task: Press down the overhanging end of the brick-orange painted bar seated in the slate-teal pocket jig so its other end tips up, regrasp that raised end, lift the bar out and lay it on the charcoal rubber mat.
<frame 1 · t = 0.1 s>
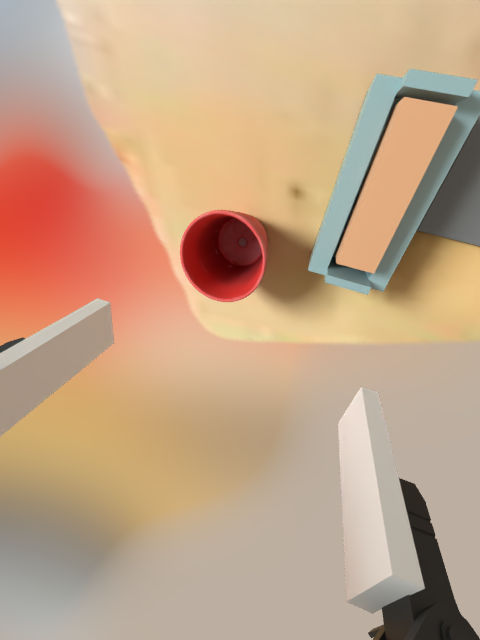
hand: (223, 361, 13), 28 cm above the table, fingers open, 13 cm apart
bar: (379, 194, 27), point 5 cm above the table, touching jig
jig: (371, 195, 31), on the table
flower pot: (243, 241, 39), on the table
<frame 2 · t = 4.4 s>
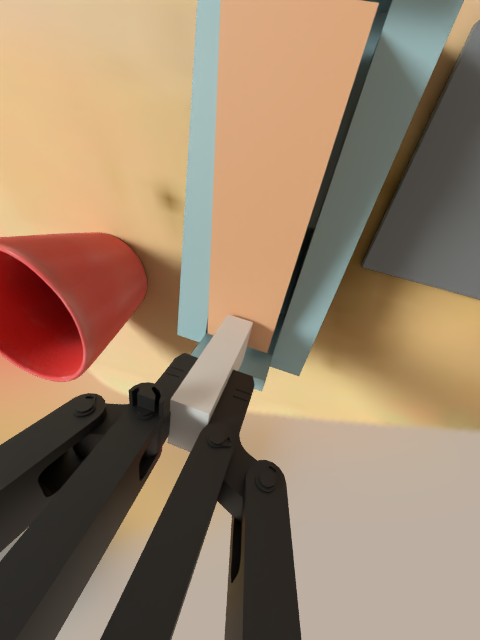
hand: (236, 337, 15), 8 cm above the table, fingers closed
bar: (273, 210, 14), point 5 cm above the table, tilted 13°, touching gripper, jig
jig: (283, 206, 18), on the table
flower pot: (115, 272, 26), on the table
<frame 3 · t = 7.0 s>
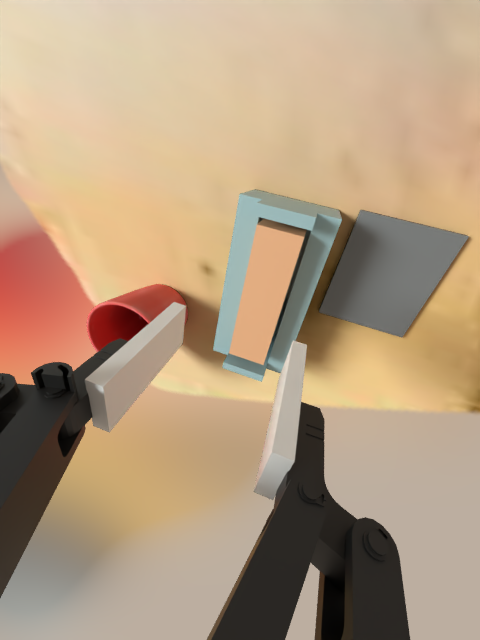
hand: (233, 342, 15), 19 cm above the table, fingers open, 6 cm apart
bar: (268, 288, 28), point 5 cm above the table, touching jig
mat: (382, 277, 29), on the table
jig: (274, 277, 32), on the table
flower pot: (166, 307, 39), on the table
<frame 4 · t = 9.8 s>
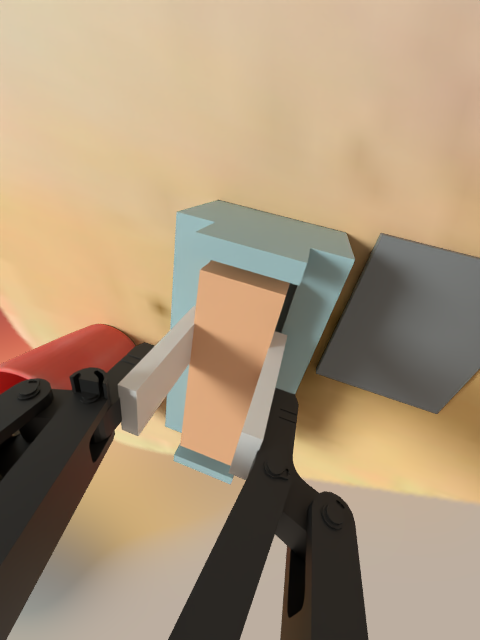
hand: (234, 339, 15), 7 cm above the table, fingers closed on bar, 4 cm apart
bar: (238, 350, 19), point 5 cm above the table, touching gripper, jig
mat: (411, 332, 19), on the table
jig: (252, 323, 23), on the table
flower pot: (115, 351, 30), on the table
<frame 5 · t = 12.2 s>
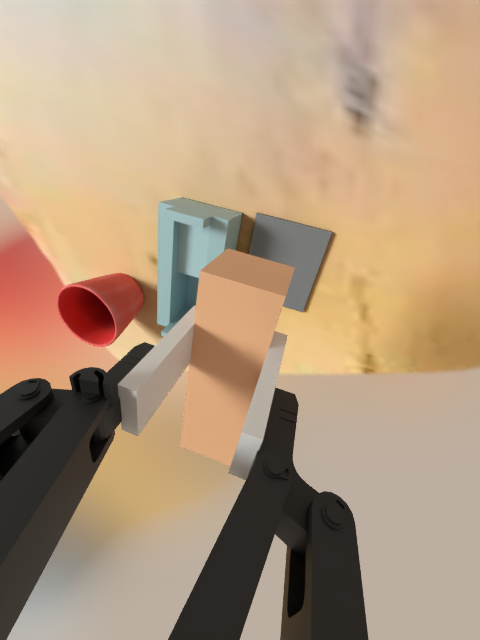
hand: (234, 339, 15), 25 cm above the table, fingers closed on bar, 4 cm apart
bar: (238, 351, 19), point 22 cm above the table, touching gripper
mat: (281, 264, 37), on the table
jig: (204, 266, 41), on the table
flower pot: (127, 292, 48), on the table
when the fingers open (8 cm above the table, at t = 15.0 s): bar drops 5 cm, resting on mat.
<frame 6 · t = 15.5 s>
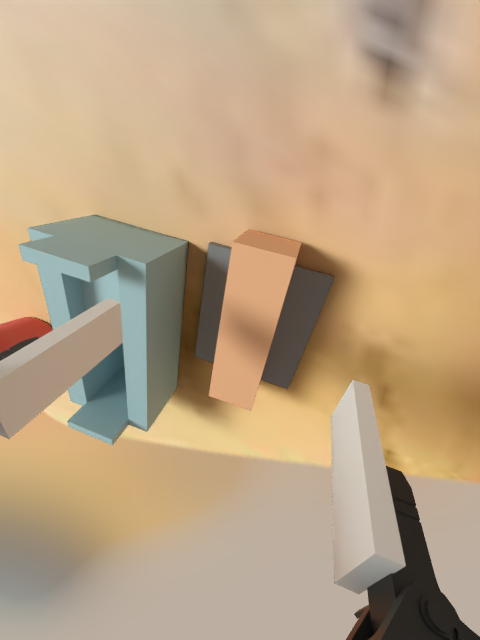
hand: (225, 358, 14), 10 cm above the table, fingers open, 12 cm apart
bar: (255, 316, 23), point 1 cm above the table, touching mat
mat: (254, 321, 24), on the table
jig: (142, 315, 27), on the table
flower pot: (46, 341, 34), on the table
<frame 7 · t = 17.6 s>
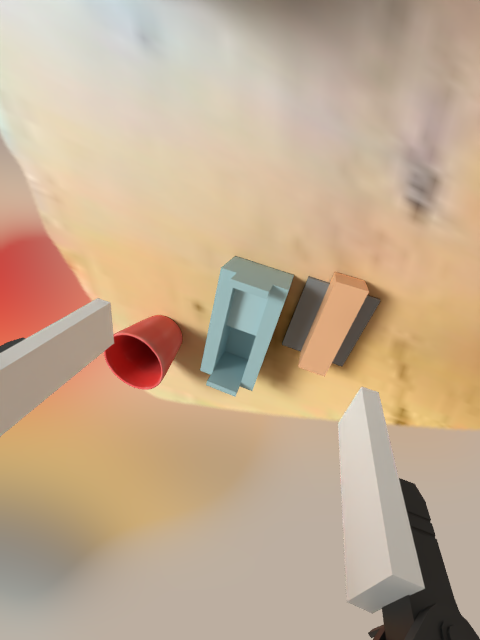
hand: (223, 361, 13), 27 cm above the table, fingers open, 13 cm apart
bar: (329, 320, 38), point 1 cm above the table, touching mat
mat: (326, 323, 39), on the table
jig: (249, 316, 42), on the table
flower pot: (165, 332, 49), on the table
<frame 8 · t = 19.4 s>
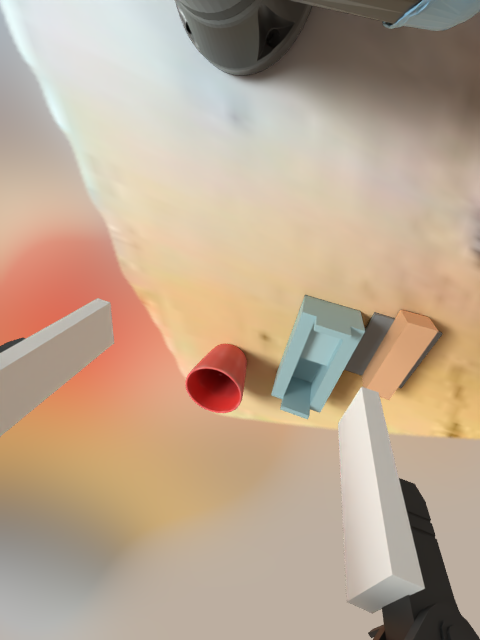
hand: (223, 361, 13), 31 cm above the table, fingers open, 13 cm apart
bar: (391, 349, 43), point 1 cm above the table, touching mat
mat: (388, 351, 44), on the table
jig: (313, 345, 47), on the table
flower pot: (229, 358, 54), on the table
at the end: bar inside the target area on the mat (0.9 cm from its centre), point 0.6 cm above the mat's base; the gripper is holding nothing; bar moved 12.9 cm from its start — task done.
